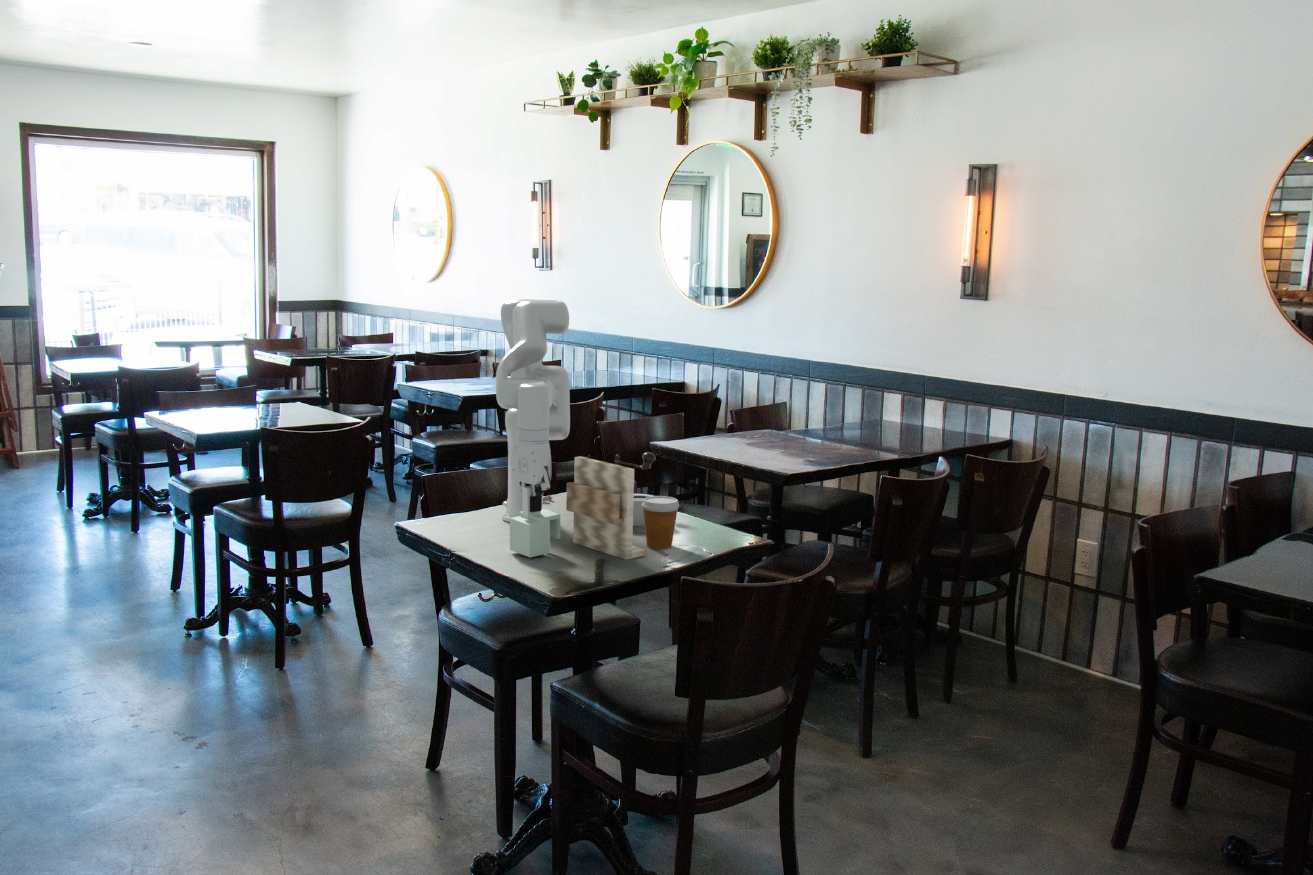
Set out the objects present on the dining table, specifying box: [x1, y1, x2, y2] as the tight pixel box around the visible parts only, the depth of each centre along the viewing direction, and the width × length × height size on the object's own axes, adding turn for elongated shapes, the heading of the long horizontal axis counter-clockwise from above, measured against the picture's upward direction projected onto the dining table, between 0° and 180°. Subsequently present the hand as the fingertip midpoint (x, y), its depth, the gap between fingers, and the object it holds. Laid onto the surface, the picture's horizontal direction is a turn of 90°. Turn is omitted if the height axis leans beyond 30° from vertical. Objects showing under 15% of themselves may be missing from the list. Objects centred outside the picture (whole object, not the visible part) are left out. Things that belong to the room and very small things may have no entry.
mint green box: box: [509, 485, 561, 558], centre depth 250 cm, size 8×9×16 cm
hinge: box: [633, 493, 654, 527], centre depth 282 cm, size 17×5×10 cm, turn 98°
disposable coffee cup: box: [642, 495, 680, 550], centre depth 261 cm, size 10×10×12 cm
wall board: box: [566, 456, 645, 561], centre depth 255 cm, size 20×9×22 cm, turn 44°
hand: (532, 509), depth 249 cm, fingers closed on mint green box
